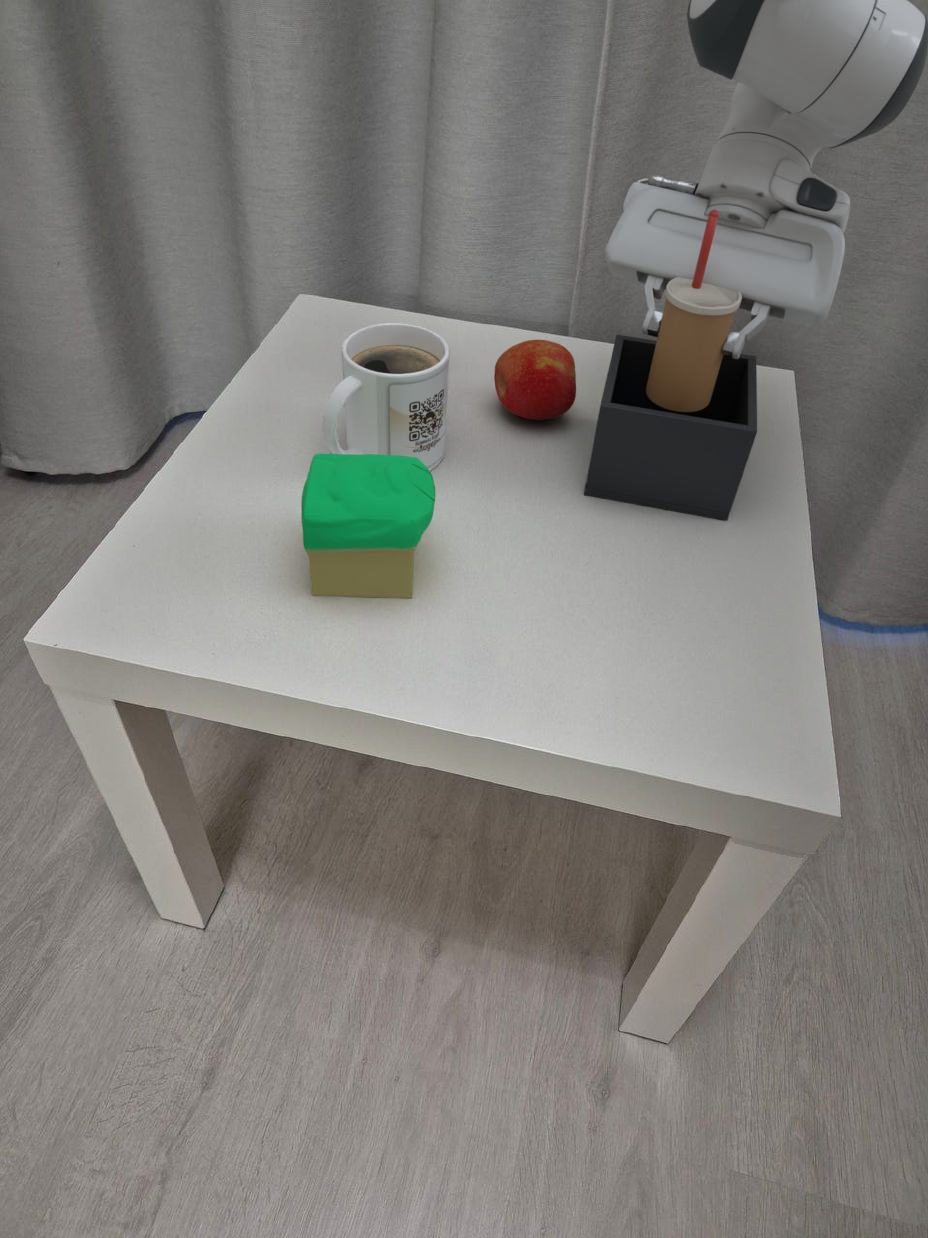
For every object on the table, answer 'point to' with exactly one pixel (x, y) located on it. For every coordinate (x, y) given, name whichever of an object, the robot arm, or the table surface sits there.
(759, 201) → the robot arm
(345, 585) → the cake
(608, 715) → the table surface
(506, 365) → the apple
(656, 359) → the paper cup
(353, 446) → the mug
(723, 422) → the bin
